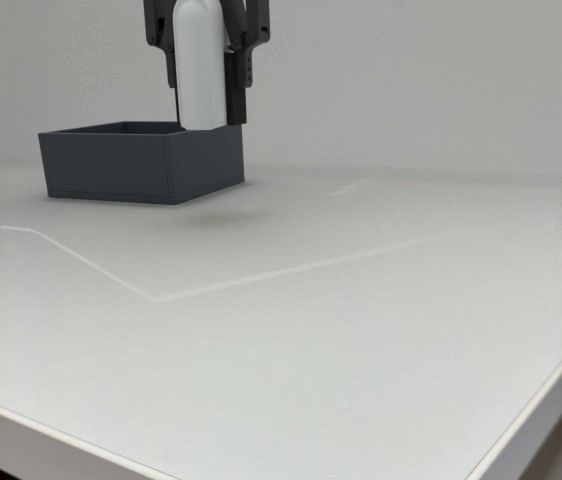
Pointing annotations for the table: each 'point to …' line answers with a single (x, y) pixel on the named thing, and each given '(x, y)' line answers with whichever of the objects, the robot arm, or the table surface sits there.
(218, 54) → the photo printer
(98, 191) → the bin
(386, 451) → the table surface
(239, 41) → the robot arm
